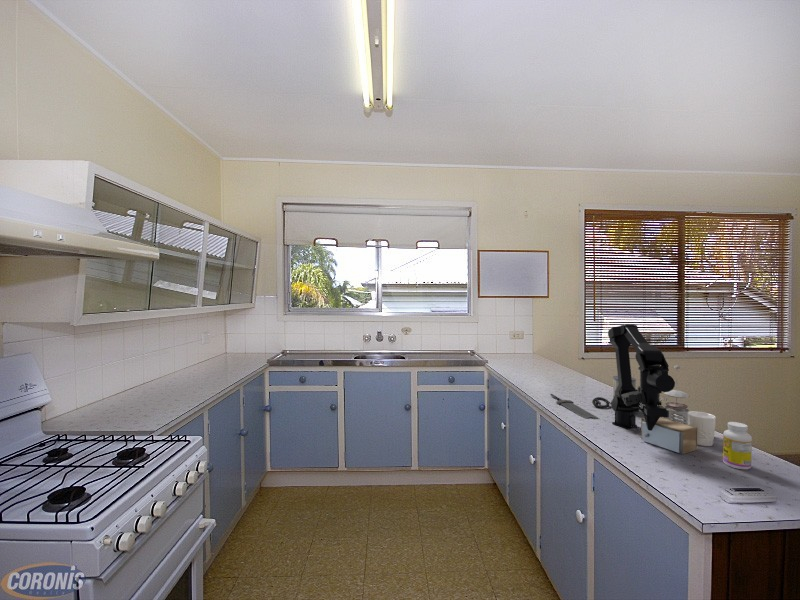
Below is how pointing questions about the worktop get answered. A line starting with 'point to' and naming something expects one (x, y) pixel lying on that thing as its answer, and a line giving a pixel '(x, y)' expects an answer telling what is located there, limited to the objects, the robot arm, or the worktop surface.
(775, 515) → the worktop surface
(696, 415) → the white cup
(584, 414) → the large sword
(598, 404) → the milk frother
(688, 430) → the cabinet
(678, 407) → the french press
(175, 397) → the worktop surface
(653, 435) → the door
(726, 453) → the supplement bottle
